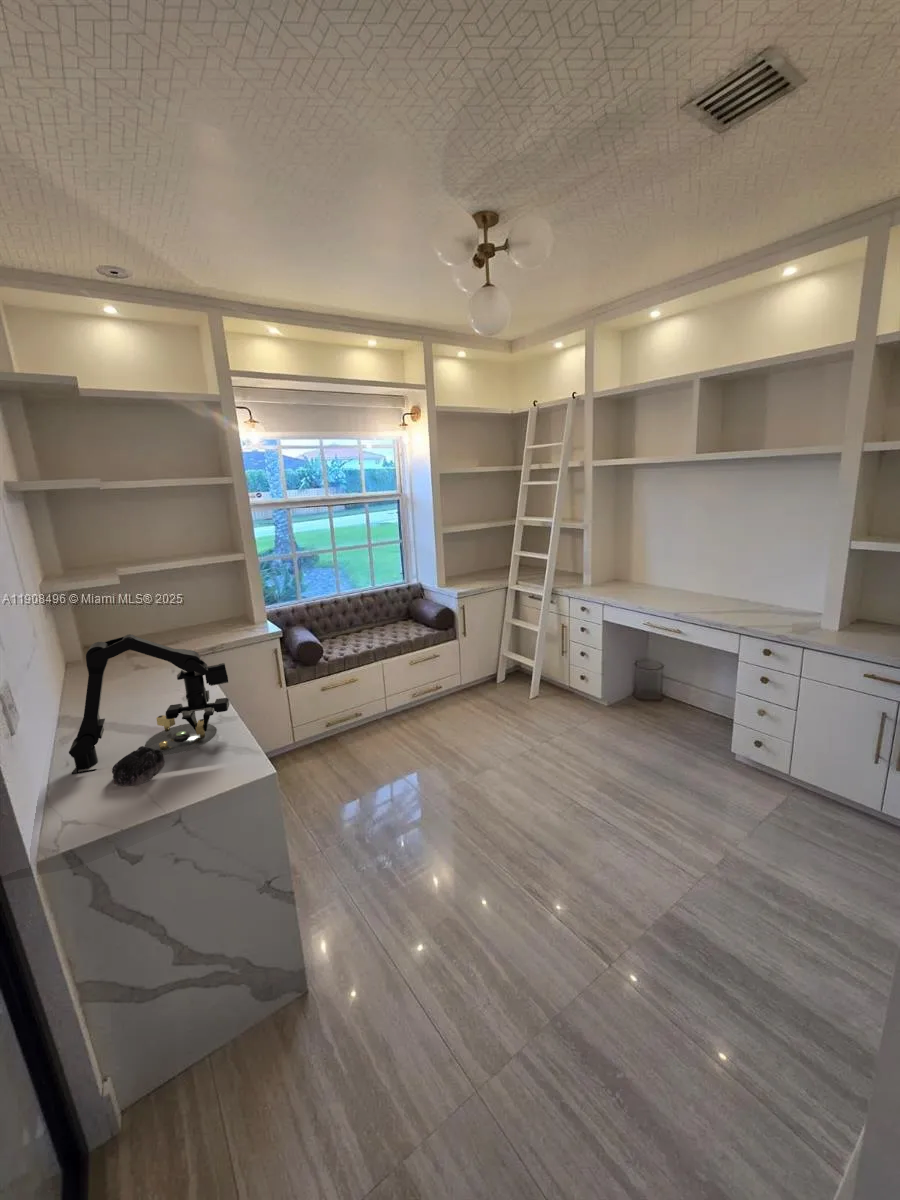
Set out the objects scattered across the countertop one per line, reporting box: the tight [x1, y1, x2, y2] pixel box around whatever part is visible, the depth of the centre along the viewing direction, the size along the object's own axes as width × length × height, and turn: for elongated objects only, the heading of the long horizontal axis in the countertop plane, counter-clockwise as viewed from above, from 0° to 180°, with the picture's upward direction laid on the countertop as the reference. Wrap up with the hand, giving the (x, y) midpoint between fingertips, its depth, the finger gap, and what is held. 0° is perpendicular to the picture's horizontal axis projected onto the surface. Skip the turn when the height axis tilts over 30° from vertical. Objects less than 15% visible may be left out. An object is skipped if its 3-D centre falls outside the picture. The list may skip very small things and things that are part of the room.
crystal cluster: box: [111, 745, 166, 787], centre depth 151 cm, size 13×14×10 cm
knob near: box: [195, 718, 205, 738], centre depth 171 cm, size 6×2×5 cm, turn 16°
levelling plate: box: [144, 722, 218, 756], centre depth 171 cm, size 22×22×3 cm
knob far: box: [155, 714, 176, 732], centre depth 176 cm, size 6×2×5 cm, turn 73°
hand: (201, 731), depth 171 cm, fingers closed on knob near, 2 cm apart
